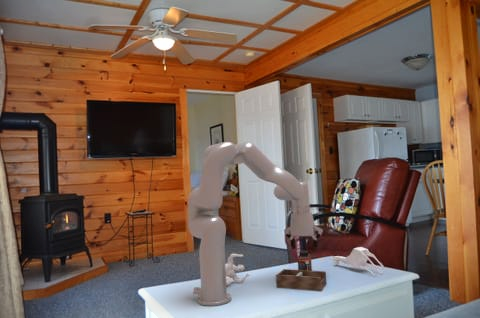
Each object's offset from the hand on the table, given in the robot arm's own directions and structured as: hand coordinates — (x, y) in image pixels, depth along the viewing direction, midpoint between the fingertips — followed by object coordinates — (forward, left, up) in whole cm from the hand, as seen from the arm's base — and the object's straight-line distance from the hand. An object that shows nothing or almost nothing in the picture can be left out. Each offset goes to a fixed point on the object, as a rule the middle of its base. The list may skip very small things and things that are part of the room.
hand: (304, 248), depth 163 cm
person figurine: (-30, -19, -13) cm, 38 cm away
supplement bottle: (0, 0, -13) cm, 13 cm away
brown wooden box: (+2, -13, -12) cm, 18 cm away
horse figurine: (+19, +16, -13) cm, 28 cm away
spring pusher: (+1, -13, -11) cm, 17 cm away
